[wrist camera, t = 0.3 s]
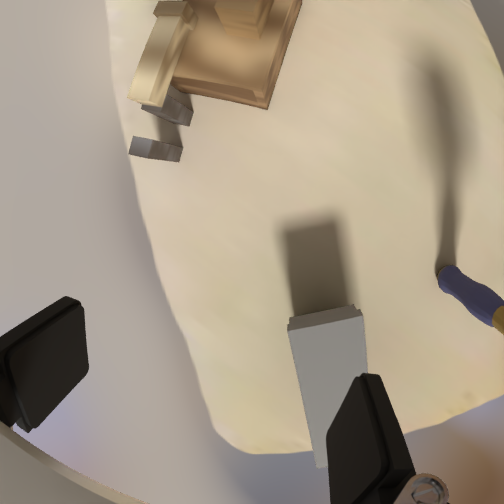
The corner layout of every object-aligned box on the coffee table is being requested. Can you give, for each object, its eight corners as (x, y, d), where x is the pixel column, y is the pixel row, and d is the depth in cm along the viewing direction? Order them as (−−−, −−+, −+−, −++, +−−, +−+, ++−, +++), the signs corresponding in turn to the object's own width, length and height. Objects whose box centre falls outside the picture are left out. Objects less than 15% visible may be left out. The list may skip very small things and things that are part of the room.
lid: (210, -35, 24) (193, -72, 16) (303, -24, 24) (305, -64, 16) (160, 76, 29) (126, 52, 21) (263, 95, 28) (255, 68, 20)
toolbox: (220, -10, 31) (205, -46, 22) (301, 3, 30) (304, -36, 21) (161, 158, 38) (126, 153, 29) (246, 180, 37) (233, 180, 28)
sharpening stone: (358, 412, 44) (368, 458, 34) (313, 421, 45) (316, 468, 35) (344, 280, 39) (363, 315, 28) (287, 292, 40) (287, 331, 30)
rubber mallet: (424, 235, 36) (595, 332, 7) (466, 231, 35) (628, 306, 6) (420, 318, 39) (528, 465, 10) (460, 310, 38) (576, 430, 9)
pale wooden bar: (172, 17, 24) (158, 1, 20) (198, 18, 24) (187, 1, 20) (139, 104, 27) (120, 95, 23) (165, 107, 27) (148, 99, 23)
